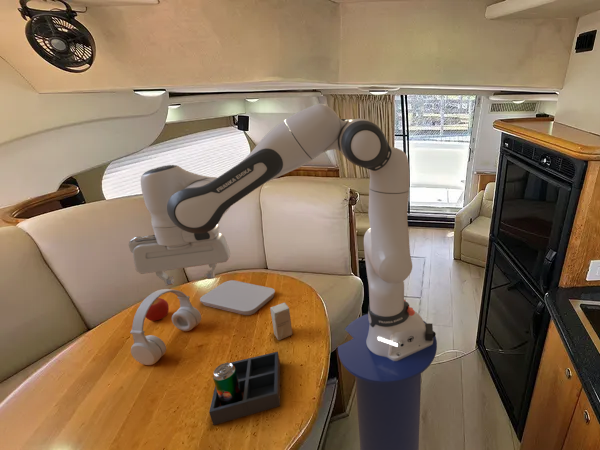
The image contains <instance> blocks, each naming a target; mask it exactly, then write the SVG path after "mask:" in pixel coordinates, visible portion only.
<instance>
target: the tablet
mask: <svg viewBox="0 0 600 450" xmlns="http://www.w3.org/2000/svg"><path fill="white" fill-rule="evenodd" d="M275 294H276V290H275V289H274V288H272V287H269V286H263V285H258V284H253V283H249V282H245V281H239V280H235V279H234V280H233V279H231V280H226V281H224V282H222V283H221V284H219V285H217V286H215V287H214V288H213V289H211V290H209V291H208V292H206V293H205V294H203V295H202V296H201V297H200V298H199V301H200V303H201V304H202V305H203V306H206V307H210V308H214V309H220V310H223V311H227V312H230V313H235V314H239V315H244V316H251V315H254V314H255V313H256V312H258V310H260V309H261V308H262V307H264V306H265V305H266V304H267V303H268V302H270V301H271V300H272V299H273V298H274V296H275Z"/></svg>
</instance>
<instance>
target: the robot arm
mask: <svg viewBox="0 0 600 450" xmlns="http://www.w3.org/2000/svg"><path fill="white" fill-rule="evenodd" d="M331 150H333V151H334V150H337V151H339V152H340V153H341V154H342V155H343V157H344V158H345V159H347V161H349V162H350V163H351V164H353V165H354V166H357V167H360V168H363V169H366V170H368V174H369V184H368V214H367V215H368V221H369V228H367V230H366V231H365V233H364V235H363V250H364V260H365V268H366V276H367V277H366V278H367V282H368V297H369V298H368V299H369V303H368V311H367V314H368V318H369V323H370V326H369V333H368V337H367V340H366V344H367V347H368V348H369V350H370V351H371V352H373V353H374V354H376V355H379V356H384V357H387V358H389V359H391V360H393V361H398V360H400V359H402V358H405V357H407V356H409V355H411V354H413V353H415V352H418V351H420V350H422V349H424V348H426V347H429V346H431V345H432V344H433V337H435V336H436V334H437V333H436V332H435V331H434V327H433V325H434V324H433V323H429V322H428V323H427V322H426V323H424V321H425V320H424V319H423V318H422V316H421V315H420V314H419V313H418V312H417V311H415V310H414V307H410V304H409V302H407V301H406V299H405V282H404V281H405V280H407V279H408V278H409V276H410V274H411V273H412V270H413V262H412V261H413V260H412V256H411V248H410V246H411V245H410V233H409V222H408V210H409V197H410V196H409V194H410V167H409V166H410V165H409V158H408V156H407V154H406V152H405V151H404V150H401V149H400V148H398V147H393V146H390V144H389V142H388V139H387V137H386V135H385V134H384V131H383V130H382V129H381V127H379V126H378V125H377V124H376V123H374V122H372V121H370V120H369V119H367V118H359V117H358V118H340V117H339V115H338V114H337V112H336V111H335V110H334V109H333V108H332V107H330V106H328V105H327V104H325V103H316V104H314V105H310V106H308V107H305V108H304V109H301V110H299V111H297V112H296V113H293V114H292V115H289V116H288V117H287V118H285V119H284V120H282V121H280V122H279V123H278V124H276V125H275V126H274V127H273V128H271V130H270V131H268V132H267V133H265V135H264V137H262V138H261V140H260V141H258V143H257V144H256V145H255V147H253V149H252V150H251V151H250V153H249V154H248V155H247V156H246V157H244V158H243V159H242V160H241V161H240V162H239V163H237V164H236V165H234V166H233V167H232V168H230V169H228V170H227V171H225V172H224V173H222V174H221V175H219V176H218V177H215V176H207V175H202V174H198V173H194V172H191V171H190V170H189V171H188V170H186V169H184V168H182V167H181V166H180V165H176V164H168V165H163V166H159V167H154V168H151V169H148V170H147V171H144V173H142V175H140V188H141V193H142V198H143V202H144V205H145V207H146V210H147V211H148V212H149V214H150V217H151V218H150V219H151V222H150V223H151V224H150V225H151V227H152V230H153V233H154V234H148V235H144V236H135V237H133V238H132V239H130V241H128V248H129V251H130V253H132V258H133V264H134V267H135V271H136V272H137V273H139V274H140V275H144V274H152V273H155V275H156V277H158V278H159V279H161V280H162V281H163V282H164V285H165V286H166V287H167V286H173V285H174V284H175V279H174V276H173V275H168V274H167V273H166V271H172V270H181V269H188V268H195V267H202V266H207V265H208V266H209V268H210V270H207V271H206V277H207V280H212V279H213V280H214V279H215V277H216V273H215V269H216V267H217V265H218V264H222V263H227V261H228V260H229V259H230V257H231V251H230V247H229V244H228V241H227V239H226V237H225V235H224V234H223V233H222V232H220V225H219V223H220V221H221V220H222V218H223V217H224V216H225V214H226V213H227V212H228V211H229V209H230V208H231V207H232V206H233V205H235V204H236V203H237V202H239V201H240V200H242V199H244V198H245V197H246V196H248V195H249V194H251V193H252V192H254V191H255V190H257V189H259V188H260V187H262V186H263V185H265V184H266V183H269V182H270V181H273V180H275V179H277V178H279V177H281V176H284V175H286V174H288V173H290V172H293V171H295V170H297V169H299V168H301V167H303V166H305V165H307V164H308V163H309V162H311V161H313V160H314V159H316V158H318V157H319V156H320V155H322V154H323V153H326V152H328V151H331Z"/></svg>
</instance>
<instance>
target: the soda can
mask: <svg viewBox="0 0 600 450" xmlns="http://www.w3.org/2000/svg"><path fill="white" fill-rule="evenodd" d="M212 379H213V383H214V387H215V386H216V390H217V393H218V396H219V400H220V403H221V406H225V405H228V404H232V403H236V402H239V401H243V395H242V392H241V388H240V384H239V380H238V376H237V372H236V368H235V366H233V365H232V364H231V362H224V363H220V364H219V365H217V366H216V367H215V368H214V370H213V374H212Z"/></svg>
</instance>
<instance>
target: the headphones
mask: <svg viewBox="0 0 600 450" xmlns="http://www.w3.org/2000/svg"><path fill="white" fill-rule="evenodd" d="M169 293H172V294H174V295H175V296H177V299H178V300H179V308H178V309H177V310H176V311H175V312H174V313H173V314H172V315H171V323H172V324H173V326H174V327H175V328H176V329H178V330H180V331H182V332H188V331H191V330H193V329H194V328H195V327H197V326H199V324H200V323H201V321H202V314H201V312H200V311H199V309H197V308H196V307H195V306H194V305H193V304H192V302H191V300H190V298H191V297H190V295H187V294H186V293H184V291H182V290H178V289H170V288H163V289H158V290H156V291H153V292H152V293H150V294H149V295H147V296H146V297H145V298H144V299H143V300H142V301H141V303H140V304H139V305H138V308H137V309H136V312H135V313H134V317H133V321H132V325H131V330H130V332H129V333H130V334H131V335H132V338H133V344H132V345H131V347H130V355H131V356H132V358H133V359H134V360H135V361H136V362H138V363H139V364H142V365H145V366H152V365H154V364H156V363H157V362H158V361H160V359H161V358H162V357H163V356H164V355H165V354H166V352H167V345H166V343H165V342H164V340H163V339H161V338H160V337H159V336H156V335H153V334H149V335H145V332H146V331H145V330H144V324H145V319H146V314H147V312H148V310H149V308H150V306H151V305H152V304H153V302H154V301H155V300H156V299H157V298H161V296H163V295H165V294H169Z"/></svg>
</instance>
